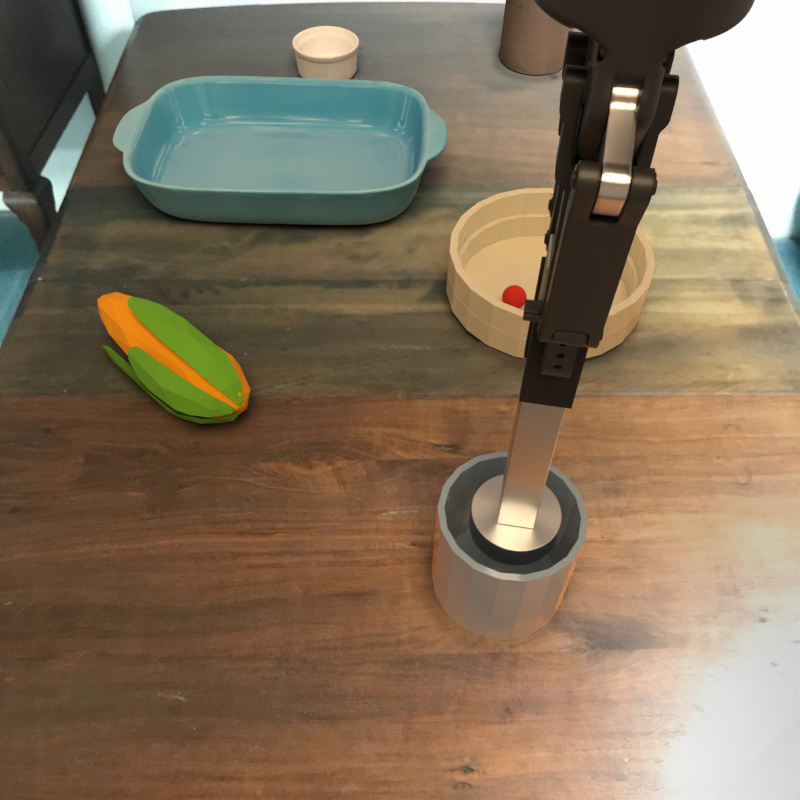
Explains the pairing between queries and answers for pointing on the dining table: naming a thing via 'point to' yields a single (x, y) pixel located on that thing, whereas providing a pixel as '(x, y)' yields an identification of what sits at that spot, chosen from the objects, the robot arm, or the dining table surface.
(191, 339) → the corn
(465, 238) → the bowl
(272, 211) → the casserole dish
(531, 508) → the silver disc tamper
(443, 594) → the crock
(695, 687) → the dining table surface
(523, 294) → the cherry tomato
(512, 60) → the pillar candle
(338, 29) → the ramekin
